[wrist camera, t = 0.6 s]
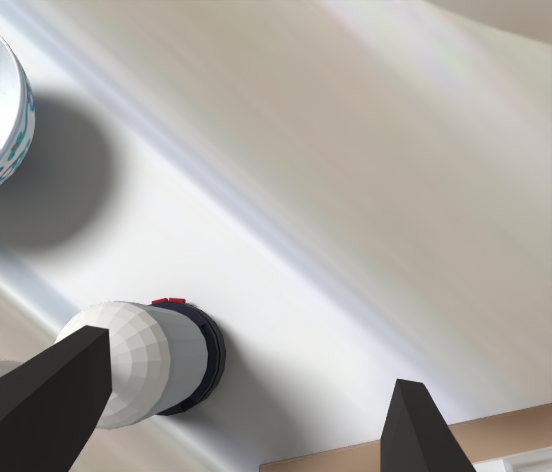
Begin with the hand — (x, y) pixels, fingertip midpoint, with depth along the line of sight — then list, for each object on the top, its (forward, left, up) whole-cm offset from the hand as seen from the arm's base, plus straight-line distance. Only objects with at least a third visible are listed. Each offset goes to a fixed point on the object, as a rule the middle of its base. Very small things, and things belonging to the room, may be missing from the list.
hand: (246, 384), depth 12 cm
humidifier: (+2, +9, -26) cm, 28 cm away
